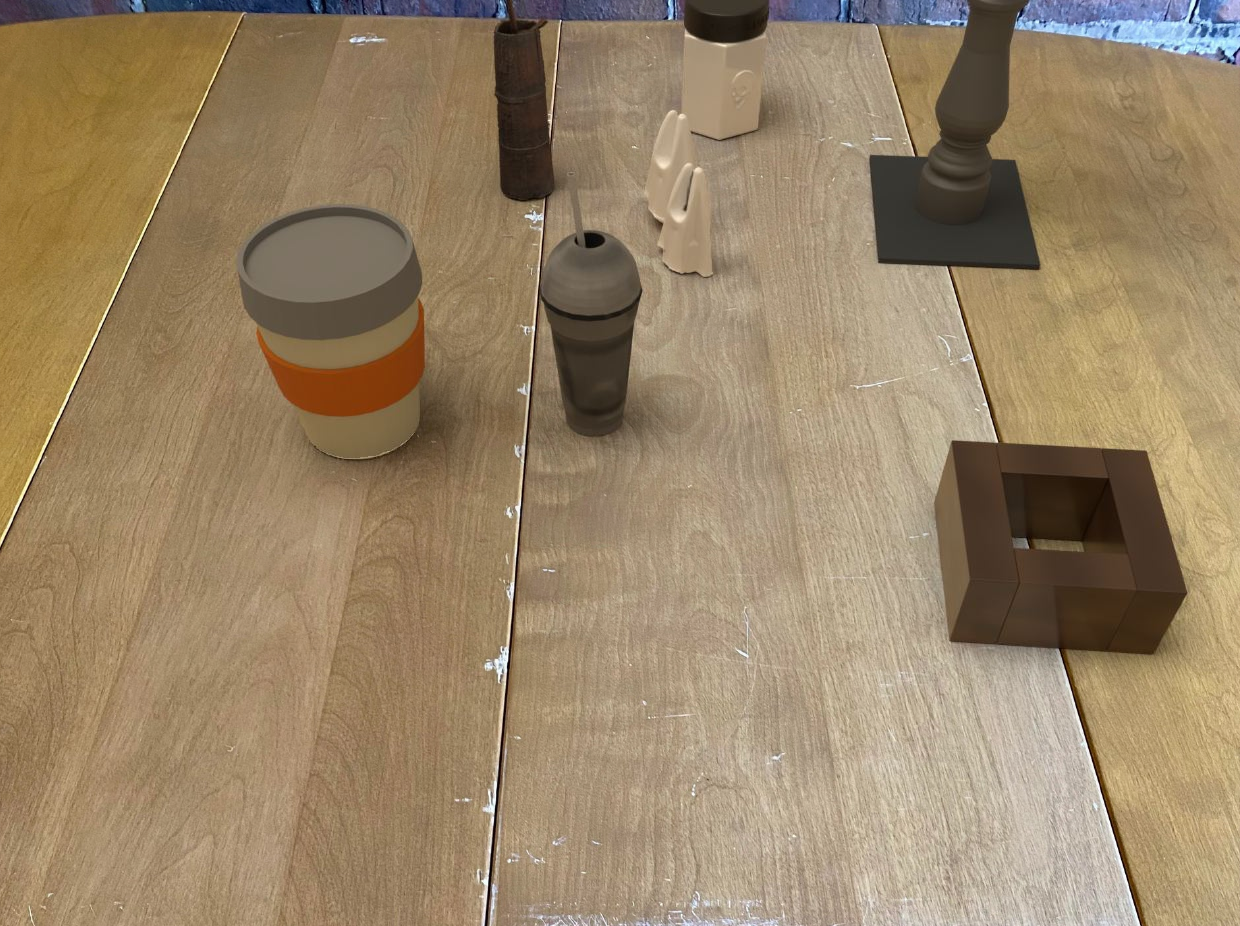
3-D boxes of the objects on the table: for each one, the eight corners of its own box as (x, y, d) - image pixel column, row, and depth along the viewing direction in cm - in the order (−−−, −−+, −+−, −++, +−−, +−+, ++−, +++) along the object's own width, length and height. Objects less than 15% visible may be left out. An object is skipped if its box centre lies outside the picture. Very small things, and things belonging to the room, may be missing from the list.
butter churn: (587, 159, 117) (579, -170, 95) (583, 211, 111) (574, -128, 89) (495, 159, 117) (466, -169, 95) (486, 210, 111) (453, -127, 89)
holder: (1118, 513, 84) (1146, 449, 79) (1153, 654, 76) (1188, 593, 71) (933, 503, 85) (951, 439, 80) (949, 641, 77) (970, 579, 72)
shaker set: (642, 209, 111) (643, 92, 102) (685, 204, 111) (690, 88, 103) (668, 281, 103) (672, 162, 95) (714, 276, 104) (722, 156, 95)
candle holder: (967, 232, 106) (1043, -73, 87) (904, 212, 109) (964, -89, 89) (993, 200, 110) (1071, -100, 90) (930, 182, 112) (994, -115, 93)
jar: (701, 147, 118) (707, 23, 108) (662, 112, 122) (665, -10, 113) (777, 126, 120) (790, 3, 111) (736, 93, 125) (745, -29, 116)
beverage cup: (622, 457, 89) (622, 215, 73) (533, 436, 90) (514, 195, 75) (653, 398, 93) (659, 158, 78) (567, 379, 95) (556, 141, 79)
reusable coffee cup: (251, 453, 90) (195, 282, 78) (333, 357, 97) (293, 188, 86) (396, 493, 87) (361, 321, 75) (470, 391, 94) (448, 220, 82)
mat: (1014, 164, 115) (1015, 159, 114) (1039, 269, 103) (1040, 264, 103) (869, 159, 116) (869, 154, 115) (878, 262, 104) (879, 257, 104)
